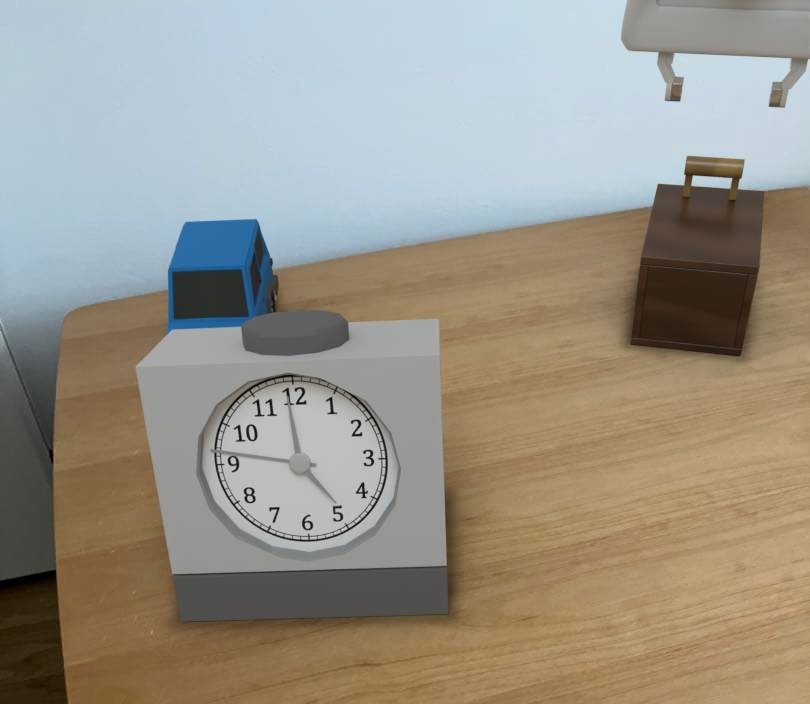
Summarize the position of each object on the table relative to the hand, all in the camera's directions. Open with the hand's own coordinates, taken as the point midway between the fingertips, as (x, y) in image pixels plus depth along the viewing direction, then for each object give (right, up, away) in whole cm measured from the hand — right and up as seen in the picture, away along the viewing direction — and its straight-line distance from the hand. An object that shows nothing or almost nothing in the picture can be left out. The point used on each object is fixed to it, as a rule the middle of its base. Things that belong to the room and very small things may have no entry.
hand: (724, 102), depth 95 cm
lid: (-1, -11, +4) cm, 12 cm away
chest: (0, -18, +9) cm, 20 cm away
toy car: (-48, -22, +9) cm, 54 cm away
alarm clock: (-37, -42, -12) cm, 57 cm away
